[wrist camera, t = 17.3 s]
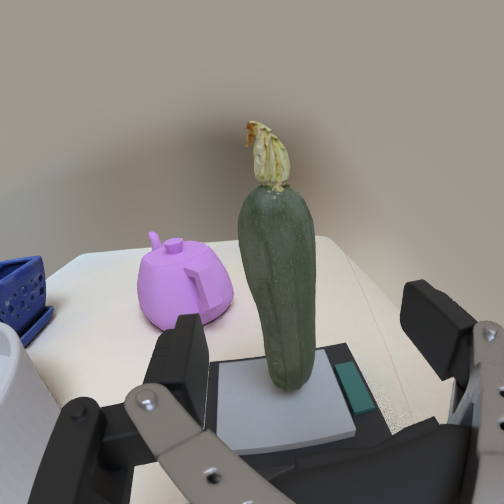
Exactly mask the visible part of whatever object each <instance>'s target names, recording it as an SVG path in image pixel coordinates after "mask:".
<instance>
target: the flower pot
mask: <svg viewBox="0 0 504 504" xmlns="http://www.w3.org/2000/svg"><path fill="white" fill-rule="evenodd" d="M22 287H24V288H23V289H22ZM45 302H46V281H45V273H44V267H43V261H42V258H41V256H32V257H24V258H18V259H13V260H6V261H2V262H0V322H2V323H4V324H7V325H9V326H10V327H11V328H13V330H14V331H15V332H16V333H17V335H18V336H19V338H20V340H21V342H22V344H23V346H24V347H25V346H26V345H27V344H28V343H29V342H30V341H31V340H32V339H33V338H34V337H35V335H36V334H37V333H38V332H39V331H40V330H41V329H42V328H43V327H44V326H45V324H46V323H47V322H48V321H49V320H50V319H51V317H52V314H53V310H54V308H53V307H52V306H45Z"/></svg>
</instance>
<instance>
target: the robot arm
mask: <svg viewBox="0 0 504 504" xmlns="http://www.w3.org/2000/svg"><path fill="white" fill-rule="evenodd" d="M400 324H401V327H402V329H403V331H404V332H405V333H406V335H407V336H408V337H409V338H410V340H411V341H412V342H413V344H414V345H415V346H416V347H417V349H418V350H419V351H420V353H421V354H422V355H423V356H424V358H425V359H426V360H427V362H428V363H429V364H430V366H431V367H432V368H433V370H434V371H435V372H436V374H437V375H438V376H439V378H440V379H441V380H442V381H444V380H446V379H449V378H451V377H454V378H455V380H454V383H453V386H452V394H451V402H450V409H449V415H448V421H447V424H440V425H439V423H438V422H437V420H436V418H435V417H434V416H433V417H431V418H429V419H426V420H424V421H421V422H419V423H416V424H413V425H411V426H408V427H405V428H404V429H402V430H400V431H399V432H397V433H396V434H394V435H393V436H391V437H389V438H388V439H386V440H384V441H383V442H381V443H379V444H377V445H375V446H373V447H364V448H344V449H329V450H325V451H320V452H315V453H309V454H304V455H298V456H293V459H294V466H292V467H290V468H287V469H285V470H283V471H281V472H279V473H277V474H275V475H274V476H272V477H270V478H269V479H268V480H265V479H264V478H263V477H262V476H261V475H260V474H258V473H257V472H256V471H255V470H254V469H253V468H251V467H250V466H249V465H248V464H247V463H246V462H245V461H243V460H242V459H241V458H240V457H239V456H238V455H237V454H236V453H235V452H234V451H233V450H232V449H230V448H229V447H228V446H227V445H226V444H225V443H224V442H223V441H222V440H221V439H220V438H219V437H218V436H217V435H216V434H215V433H214V432H213V431H212V430H210V429H209V428H205V429H203V428H204V415H205V403H206V391H207V380H208V369H209V351H208V346H207V342H206V338H205V334H204V330H203V325H202V321H201V317H200V315H199V313H193V314H183V315H178V318H177V321H176V324H175V328H174V329H166V330H165V331H164V332H163V333H162V334H161V335H160V336H159V337H158V340H157V343H156V345H155V349H154V351H153V354H152V357H151V360H150V363H149V366H148V369H147V372H146V375H145V378H144V381H143V384H142V385H140V386H137V387H136V388H134V389H133V390H131V391H130V392H129V393H128V395H127V396H126V398H125V401H124V402H123V403H120V404H115V405H111V406H106V407H101V408H100V407H99V405H98V403H97V402H96V401H95V400H94V399H92V398H89V397H78V398H75V399H73V400H71V401H69V402H68V403H67V404H66V405H65V406H64V407H63V408H62V410H61V412H60V414H59V416H58V419H57V421H56V424H55V426H54V428H53V431H52V433H51V436H50V438H49V441H48V443H47V446H46V449H45V451H44V454H43V457H42V460H41V462H40V465H39V468H38V471H37V474H36V477H35V480H34V483H33V486H32V489H31V492H30V496H29V499H28V503H27V504H129V503H130V495H131V487H132V480H133V473H134V466H138V465H143V464H148V463H153V462H157V461H158V462H159V464H160V465H161V466H162V468H163V469H164V471H165V472H166V473H167V475H168V476H169V477H170V479H171V480H172V481H173V483H174V484H175V485H176V486H177V488H178V489H179V490H180V491H181V493H182V494H183V495H184V496H185V498H186V499H187V500H188V501H189V502H190V504H504V329H503V327H501V326H500V325H499V324H497V323H494V322H492V321H480V322H477V321H476V320H475V319H474V318H473V317H472V316H471V315H470V314H468V313H467V312H466V311H465V310H464V309H463V308H462V307H461V306H459V305H458V304H457V303H456V302H455V301H453V300H452V299H451V298H450V297H449V296H448V295H447V294H445V293H443V292H441V291H439V290H436V289H435V288H433V287H432V286H431V285H430V284H429V283H427V282H426V281H425V280H423V279H421V280H416V281H411V282H407V283H406V284H405V286H404V291H403V298H402V305H401V312H400Z"/></svg>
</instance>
